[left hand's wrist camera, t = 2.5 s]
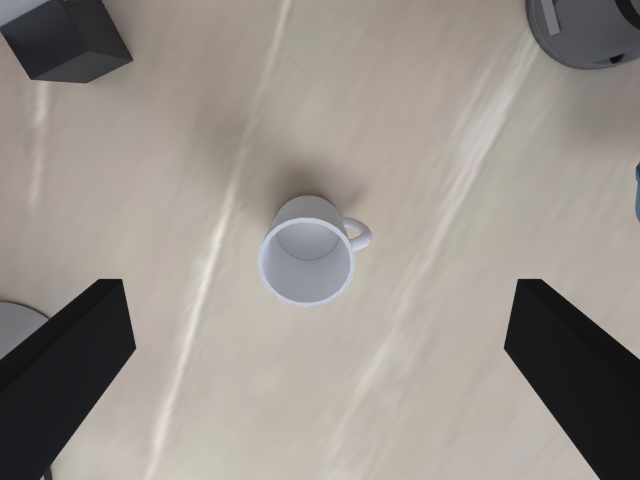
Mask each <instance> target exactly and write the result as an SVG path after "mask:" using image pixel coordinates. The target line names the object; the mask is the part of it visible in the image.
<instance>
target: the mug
mask: <svg viewBox="0 0 640 480" xmlns="http://www.w3.org/2000/svg"><path fill="white" fill-rule="evenodd" d="M345 228H352V229H356V230H358V231H360V232H361V233H362V234H361V235H359V236H357V237H355V238H353V239H349V237H348V234H347V231H346V229H345ZM371 239H372V233H371V231H370V230H369V228H368V226H366V225H365V224H364V223H362V222H361V221H358V220H356V219H353V218H349V217H344V218H341V216H340V214H339V212H338V210H337V209H336V208H335V207H334V205H333V204H332V203H330V202H329V201H327V200H326V199H324V198H321V197H318V196H315V195H303V196H298V197H295V198H293V199H291V200H289V201H287V202H286V203H285V204H284V205H283V206H282V207H281V208H280V210H279V212H278V213H277V215H276V217H275V219H274V221H273V223H272V224H271V226H270V228H269V230H268V232H267V234H266V236H265V238H264V240H263V242H262V244H261V247H260V250H259V254H258V270H259V274H260V277H261V280H262V281H263V283H264V284H265V286H266V288H267V289H268V290H269V291H270V292H271V293H272V294H273V295H274V296H275V297H277V298H278V299H280V300H282V301H284V302H286V303H288V304H292V305H296V306H304V307H312V306H317V305H322V304H325V303H327V302H329V301H331V300H334V299H335V298H336V297H337V296H339V295H340V294H341V293H342V292H343V291H344V290H345V289H346V287H347V286H348V285H349V283H350V281H351V279H352V276H353V274H354V269H355V257H354V251H357V250H360V249H362V248H364V247H365V246H367V245H368V244H369V243H370V241H371Z"/></svg>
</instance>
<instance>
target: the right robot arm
mask: <svg viewBox="0 0 640 480" xmlns="http://www.w3.org/2000/svg"><path fill="white" fill-rule="evenodd" d="M47 1H49V0H0V27H1V26H3V25H5V24H6V23H8V22H10V21H12V20H14V19H16V18H18V17H19V16H21V15H23V14H25V13H27V12H29V11H31V10H32V9H34V8H36V7H38V6H40V5H42V4H44V3H45V2H47ZM64 1H66V2H69V3H73V4H75V5H76V4H78V3H80V2H82V1H84V0H64ZM48 320H49V319H47V318H46V317H44V316H43V315H41V314H40V313H38V312H36V311H34V310H32V309H30V308H27V307H24V306H21V305H18V304H13V303H7V302H0V359H2V358H3V357H4V356H5V355H6V354H8V353H9V352H10V351H11V350H13V349H14V348H15V347H16V346H18V345H19V344H20V343H21V342H22V341H24V340H25V339H26V338H27V337H29V336H30V335H31V334H32V333H33V332H35V331H36V330H37V329H38V328H40V327H41V326H42V325H43V324H44V323H46V322H47V321H48ZM44 479H45V480H52V479H51V472H50V467H49V468H48V469H47V471H46V472H45V473H44Z"/></svg>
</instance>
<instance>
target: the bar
mask: <svg viewBox="0 0 640 480" xmlns="http://www.w3.org/2000/svg"><path fill="white" fill-rule="evenodd" d="M0 32H1V33H2V35H3V36H4V38H5V39H6V41H7V43H8V44H9V46H10V47H11V49H12V51H13V52H14V54H15V55H16V57H17V59H18V60H19V62H20V63H21V65H22V67H23V68H24V70H25V71H26V73H27V75H28V76H29V78H30V79H31V80H42V81H57V82H72V83H88V82H90V81H92V80H94V79H96V78H98V77H100V76H102V75H104V74H106V73H109V72H111V71H113V70H115V69H117V68H119V67H121V66H123V65H125V64H127V63H129V62H131V61H133V59H132V57H131V55H130V53H129V52H128V50H127V48H126V46H125V44H124V42H123V40H122V38H121V36H120V35H119V33H118V31H117V29H116V27H115V25H114V23H113V21H112V19H111V18H110V16H109V14H108V12H107V10H106V8H105V6H104V4H103V3H102V1H101V0H84V1H82V2H80V3H78V4H76V5H75V4H73V3H69V2H66V1H64V0H49V1H47V2H45V3H44V4H42V5H40V6H38V7H36V8H34V9H32V10H31V11H29V12H27V13H25V14H23V15H21V16H19V17H18V18H16V19H14V20H12V21H10V22H8V23H6V24H5V25H3V26H1V27H0Z"/></svg>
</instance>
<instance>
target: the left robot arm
mask: <svg viewBox="0 0 640 480" xmlns="http://www.w3.org/2000/svg"><path fill="white" fill-rule="evenodd" d="M526 9H527V16H528V20H529V24H530V27H531V30H532V33H533V35H534V37H535V39H536V41H537V42H538V44H539V45H540V47H541V48H542V49H543V50H544V51H545V52H546V53H547V54H548V55H549V56H550V57H551V58H553V59H554V60H555V61H557V62H559V63H561V64H563V65H566V66H568V67H572V68H576V69H588V70H590V69H601V68H609V67H614V66H617V65H621V64H624V63H627V62H630V61H633V60H635V59H637V58H640V0H526ZM635 174H636V179H637V181H638V185H637V195H636V205H635V211H636V216H637V218H638V220H639V222H640V162H639V164H638V165H637V167H636V173H635ZM135 349H136V345H135V340H134V335H133V330H132V325H131V320H130V315H129V311H128V306H127V301H126V296H125V291H124V286H123V281H122V279H98V280H97V281H96V282H95V283H93V284H92V285H91V286H90V287H88V288H87V289H86V290H85V291H84V292H82V293H81V294H80V295H79V296H77V297H76V298H75V299H74V300H73V301H71V302H70V303H69V304H68V305H66V306H65V307H64V308H63V309H62V310H60V311H59V312H58V313H57V314H55V315H54V316H53V317H52V318H51V319H49V320H48V321H47V322H46V323H44V324H43V325H42V326H41V327H40V328H38V329H37V330H36V331H35V332H33V333H32V334H31V335H30V336H29V337H27V338H26V339H25V340H24V341H22V342H21V343H20V344H19V345H18V346H16V347H15V348H14V349H13V350H11V351H10V352H9V353H8V354H6V355H5V356H4V357H3V358H2V359H0V480H40V479H41V477H42V476H43V475H44V473H45V472H46V471H47V469H48V468H49V467H50V465H51V464H52V463H53V461H54V460H55V458H56V457H57V456H58V454H59V453H60V452H61V450H62V449H63V448H64V446H65V445H66V443H67V442H68V441H69V439H70V438H71V437H72V435H73V434H74V433H75V431H76V430H77V428H78V427H79V426H80V424H81V423H82V422H83V420H84V419H85V418H86V416H87V415H88V413H89V412H90V411H91V409H92V408H93V407H94V405H95V404H96V403H97V401H98V400H99V398H100V397H101V396H102V394H103V393H104V392H105V390H106V389H107V388H108V386H109V385H110V384H111V382H112V381H113V379H114V378H115V377H116V375H117V374H118V373H119V371H120V370H121V369H122V367H123V366H124V364H125V363H126V362H127V360H128V359H129V358H130V356H131V355H132V354H133V352H134V351H135ZM504 349H505V351H506V352H507V354H508V355H509V356H510V358H511V359H512V360H513V362H514V363H515V364H516V366H517V367H518V369H519V370H520V371H521V373H522V374H523V375H524V377H525V378H526V379H527V381H528V382H529V384H530V385H531V386H532V388H533V389H534V390H535V392H536V393H537V394H538V396H539V397H540V398H541V400H542V401H543V403H544V404H545V405H546V407H547V408H548V409H549V411H550V412H551V413H552V415H553V416H554V418H555V419H556V420H557V422H558V423H559V424H560V426H561V427H562V428H563V430H564V431H565V433H566V434H567V435H568V437H569V438H570V439H571V441H572V442H573V443H574V445H575V446H576V448H577V449H578V450H579V452H580V453H581V454H582V456H583V457H584V458H585V460H586V461H587V463H588V464H589V465H590V467H591V468H592V469H593V471H594V472H595V473H596V475H597V476H598V477H599V479H600V480H640V359H638V358H637V357H636V356H635V355H634V354H632V353H631V352H630V351H629V350H627V349H626V348H625V347H624V346H622V345H621V344H620V343H619V342H618V341H616V340H615V339H614V338H613V337H611V336H610V335H609V334H608V333H607V332H605V331H604V330H603V329H602V328H600V327H599V326H598V325H597V324H596V323H594V322H593V321H592V320H591V319H589V318H588V317H587V316H586V315H585V314H583V313H582V312H581V311H580V310H578V309H577V308H576V307H575V306H574V305H572V304H571V303H570V302H569V301H567V300H566V299H565V298H564V297H563V296H561V295H560V294H559V293H558V292H556V291H555V290H554V289H553V288H552V287H550V286H549V285H548V284H547V283H545V282H544V281H543V280H542V279H518V281H517V286H516V291H515V296H514V301H513V306H512V311H511V315H510V320H509V325H508V330H507V335H506V340H505V345H504Z"/></svg>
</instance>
